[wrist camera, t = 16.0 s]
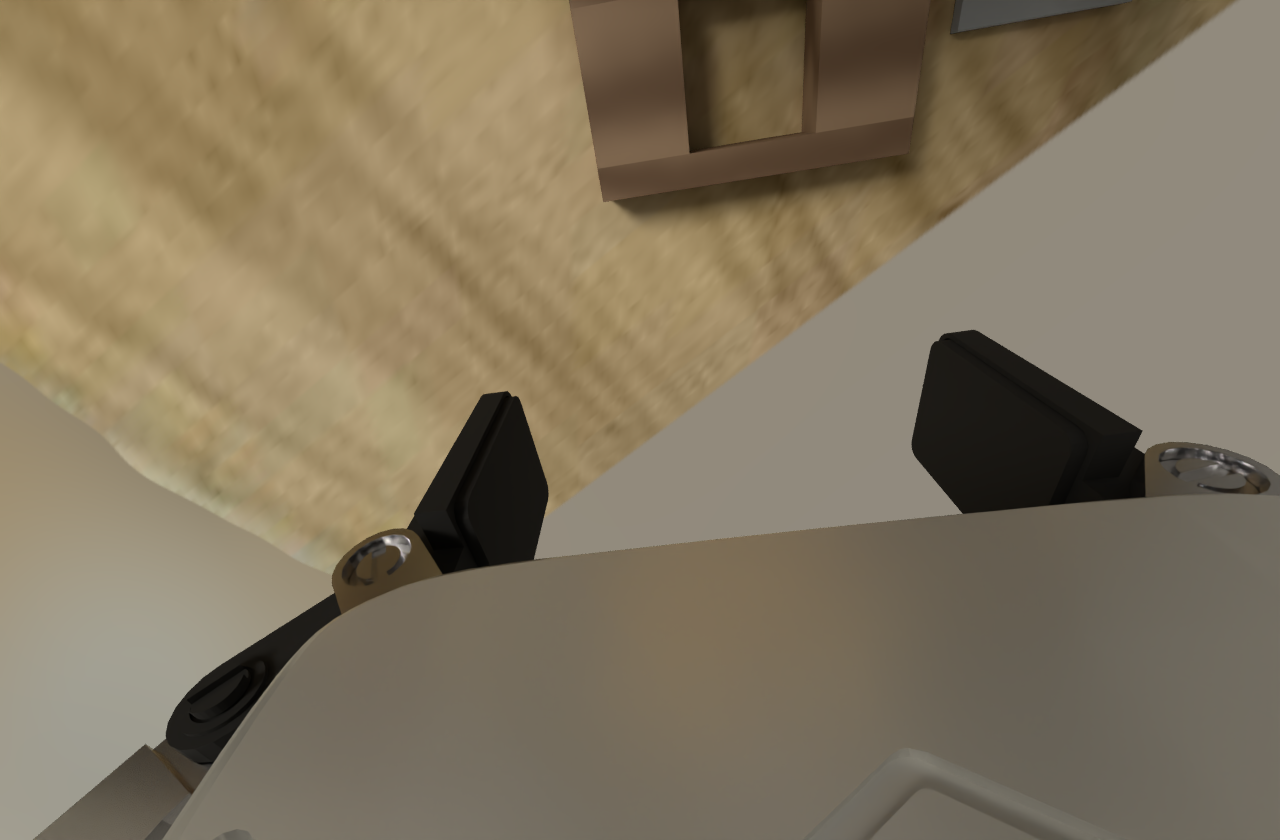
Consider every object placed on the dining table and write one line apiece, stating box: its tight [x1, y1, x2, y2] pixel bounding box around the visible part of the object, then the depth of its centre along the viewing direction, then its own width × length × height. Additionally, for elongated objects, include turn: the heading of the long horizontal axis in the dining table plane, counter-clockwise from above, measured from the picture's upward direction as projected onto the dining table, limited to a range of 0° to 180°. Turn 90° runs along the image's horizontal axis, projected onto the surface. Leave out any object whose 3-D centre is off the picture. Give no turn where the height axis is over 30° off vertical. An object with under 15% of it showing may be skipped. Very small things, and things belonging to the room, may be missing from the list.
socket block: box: [569, 0, 931, 202], centre depth 29 cm, size 12×20×3 cm, turn 98°
